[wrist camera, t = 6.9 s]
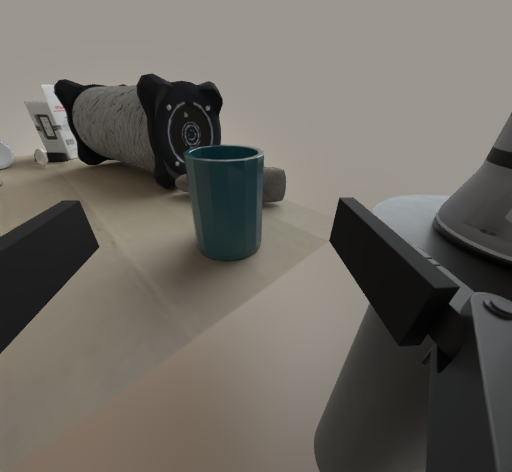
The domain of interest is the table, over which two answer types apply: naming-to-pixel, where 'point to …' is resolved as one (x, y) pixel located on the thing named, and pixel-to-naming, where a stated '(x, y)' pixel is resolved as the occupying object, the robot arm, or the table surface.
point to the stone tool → (271, 184)
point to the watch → (49, 157)
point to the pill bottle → (5, 155)
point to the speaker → (142, 122)
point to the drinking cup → (226, 199)
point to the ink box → (52, 123)
